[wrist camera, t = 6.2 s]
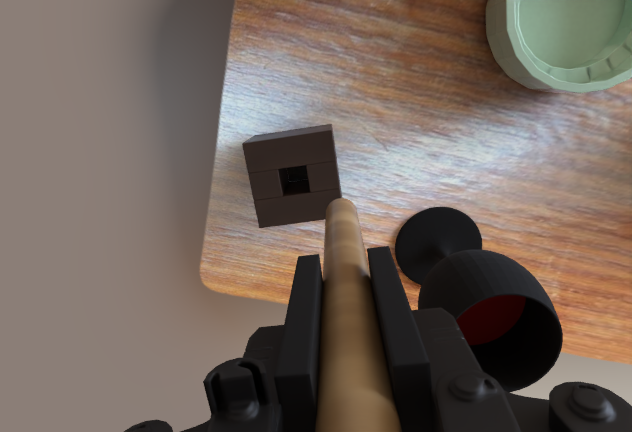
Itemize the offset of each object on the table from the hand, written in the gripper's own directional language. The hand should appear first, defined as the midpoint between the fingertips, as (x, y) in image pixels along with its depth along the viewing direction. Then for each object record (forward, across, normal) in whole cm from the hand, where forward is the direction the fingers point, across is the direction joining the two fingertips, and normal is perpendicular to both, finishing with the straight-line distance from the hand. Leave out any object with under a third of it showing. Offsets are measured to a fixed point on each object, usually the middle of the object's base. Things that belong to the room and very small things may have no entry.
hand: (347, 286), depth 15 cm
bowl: (+34, +24, +11) cm, 43 cm away
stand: (+34, -4, -1) cm, 34 cm away
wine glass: (+34, +11, -13) cm, 38 cm away
